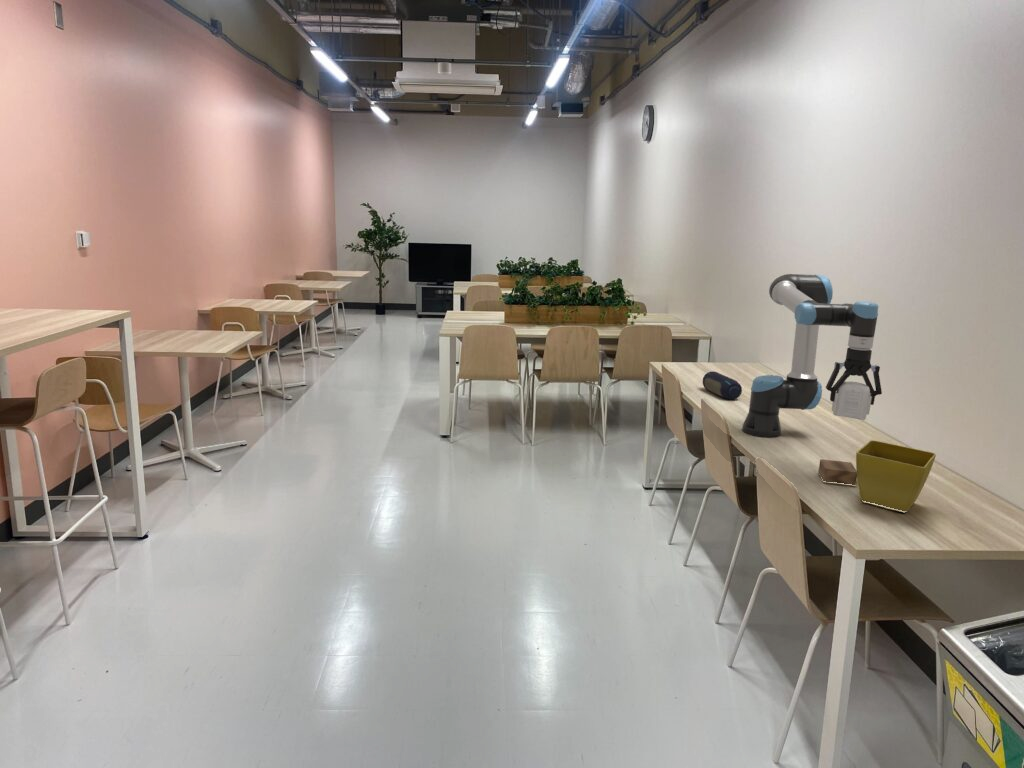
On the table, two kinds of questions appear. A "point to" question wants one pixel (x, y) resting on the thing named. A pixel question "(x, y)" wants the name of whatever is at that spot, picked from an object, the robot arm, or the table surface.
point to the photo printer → (852, 400)
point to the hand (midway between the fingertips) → (850, 412)
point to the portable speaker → (722, 385)
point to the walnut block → (837, 471)
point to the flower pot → (892, 473)
